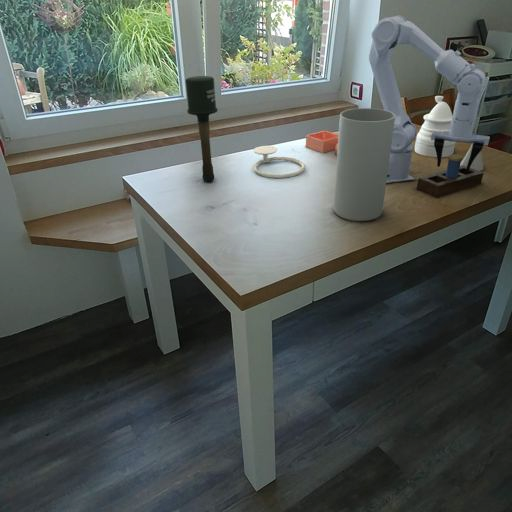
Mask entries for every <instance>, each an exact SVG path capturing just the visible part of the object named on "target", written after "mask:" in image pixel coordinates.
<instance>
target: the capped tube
mask: <svg viewBox="0 0 512 512" xmlns="http://www.w3.org/2000/svg"><path fill="white" fill-rule="evenodd" d="M447 159H448V162H447V167H446V170H447V171H446V177H449V178H451V179H453V178H457V177H458V173H459V168H460V164H461V162H462V160H463V159H464V156H463V155H460V154H454V153H453V154H452V155H449V156H448V157H447Z"/></svg>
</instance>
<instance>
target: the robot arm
mask: <svg viewBox="0 0 512 512" xmlns="http://www.w3.org/2000/svg"><path fill="white" fill-rule="evenodd" d="M370 35H371V43H370V47H369V48H370V49H369V53H368V61H369V65H370V69H371V71H372V75H373V77H374V78H373V79H374V81H375V85H376V88H377V91H378V94H379V98H380V102H381V104H382V107H383V108H382V109H383V110H387V111H390V112H392V113H394V114H395V122H394V129H393V137H392V144H391V151H390V159H389V166H388V174H387V181H386V184H390V183H397V182H398V183H399V182H406V181H407V182H409V181H413V180H415V178H414V177H413V176H411V175H410V168H411V162H412V157H413V151H414V147H413V144H412V143H413V141H414V140H416V138H417V134H418V130H417V128H416V125H414V123H412V120H411V118H410V116H409V115H408V114H407V113H406V111H405V106H404V103H403V101H402V97H401V94H400V89H399V86H398V83H397V79H396V76H395V72H394V69H393V65H392V62H391V59H390V58H391V55H392V54H393V52H394V50H395V48H396V47H397V45H411V46H412V47H413V48H415V49H416V50H418V51H419V52H420V53H422V54H423V55H424V56H426V57H427V58H428V59H430V60H431V61H433V62H434V69H435V71H436V72H438V73H439V74H440V75H442V77H444V78H445V79H447V81H448V82H449V83H451V84H453V85H456V91H457V97H456V100H455V103H454V108H453V112H452V116H453V117H452V122H451V127H450V132H434V131H433V132H432V135H431V140H435V141H434V147H435V150H436V154H437V157H436V161H437V163H436V166H437V167H438V168H439V167H441V163H442V158H443V157H442V151H443V146H444V141H453V142H455V143H463V144H464V143H465V144H472V143H473V146H472V151H471V155H470V158H469V161H468V164H467V169H466V170H469V169H470V166H471V164H472V162H473V161H474V159H475V158H476V156H477V155H478V154H479V152H480V151H481V152H482V150H483V148H484V146H489V143H490V136H488V135H483V134H482V135H481V134H476V133H473V132H474V128H475V124H476V123H475V122H476V120H477V119H476V118H477V114H478V110H479V106H480V99H481V97H482V96H481V95H482V94H481V93H482V88H484V86H485V84H486V81H487V80H486V79H487V77H486V74H485V72H484V71H483V69H482V68H481V67H476V64H474V63H470V62H468V61H467V60H466V59H464V57H462V56H461V54H462V53H461V52H460V51H459V50H456V51H454V50H453V49H447V50H444V49H443V48H442V47H440V46H439V45H438V43H436V42H435V41H434V40H432V39H431V38H430V37H429V36H428V35H427V34H426V33H425V32H424V31H422V29H421V28H419V27H418V26H417V25H416V24H414V22H412V21H410V20H407V19H406V18H405V16H402V15H399V14H398V15H393V16H390V17H384V18H382V19H380V20H379V21H378V22H377V24H376V25H375V27H374V28H373V30H372V32H371V34H370Z"/></svg>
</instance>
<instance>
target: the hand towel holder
mask: <svg viewBox="0 0 512 512" xmlns="http://www.w3.org/2000/svg"><path fill="white" fill-rule="evenodd" d="M252 151H253V153H254V154H257V155H261V156H262V159H260V160H257V161H256V162H255V163H254V165H253V167H252V169H253V171H254V173H256V174H257V175H259V176H262V177H265V178H270V179H286V178H287V179H288V178H292V177H296V176H299V175H300V174H302V173H303V172H304V171H305V169H306V165H305V163H304V162H303V161H302V160H300V159H297V158H294V157H289V156H271V157H269V156H268V155H273V154H275V153H276V152H278V148H277V147H275V146H273V145H260V146H256V147H255V148H253V150H252ZM273 161H274V162H275V161H288V162H292V163H297V164H299V166H301V168H300V169H299V170H296V171H294V172H289V173H282V174H281V173H280V174H279V173H278V174H277V173H267V172H263V171H261V170H258V169H257V167H258V166H259V165H261V164H267V163H268V162H273Z"/></svg>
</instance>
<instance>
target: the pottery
mask: <svg viewBox="0 0 512 512" xmlns="http://www.w3.org/2000/svg"><path fill="white" fill-rule="evenodd" d="M338 137H339V133H335V132H332V131H328V130H322V131H318V132H313V133H310V134H307V135H305V147H306V148H308V149H311V150H313V151H317V152H318V153H319V152H320V153H322V154H324V153H328V152H330V151H334V152H335V155H336V156H337V152H338Z"/></svg>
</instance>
